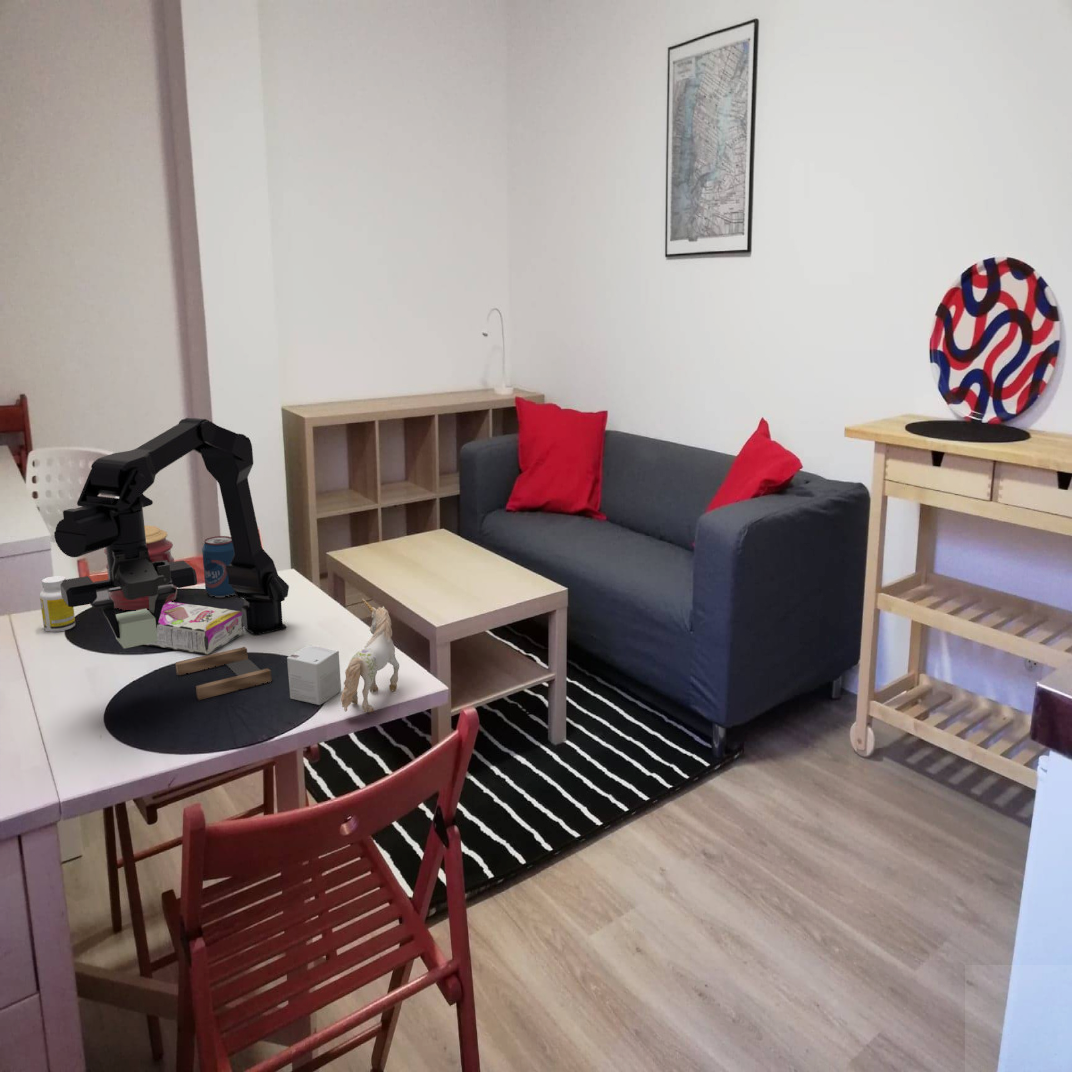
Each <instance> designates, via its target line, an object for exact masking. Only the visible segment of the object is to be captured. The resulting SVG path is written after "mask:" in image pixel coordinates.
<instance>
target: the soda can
mask: <svg viewBox="0 0 1072 1072" xmlns="http://www.w3.org/2000/svg"><path fill="white" fill-rule="evenodd" d="M203 541H204V544H203V545H202V548H201V553H202V563H203V565H202V566H203V574H204V587H205V591H206V593H207V594H208V595H209V596H210V595H211V596H210V597H212V596H215V597H214V598H226V597H225V596H228V597H230V596H229V595H232V596H234V595H236V594H235V592H234V589H233V588H232V586H231V585H229V584H228V582H229V579H228V574H227V571H226V566H227V565H229V564H230V563H231V561H232V559H233V557H234V548H233V544H232V539H231V536H229V535H228V536H227V535H217V536H216V535H215V536H211V537H207V538H205V539H204V540H203Z"/></svg>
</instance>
